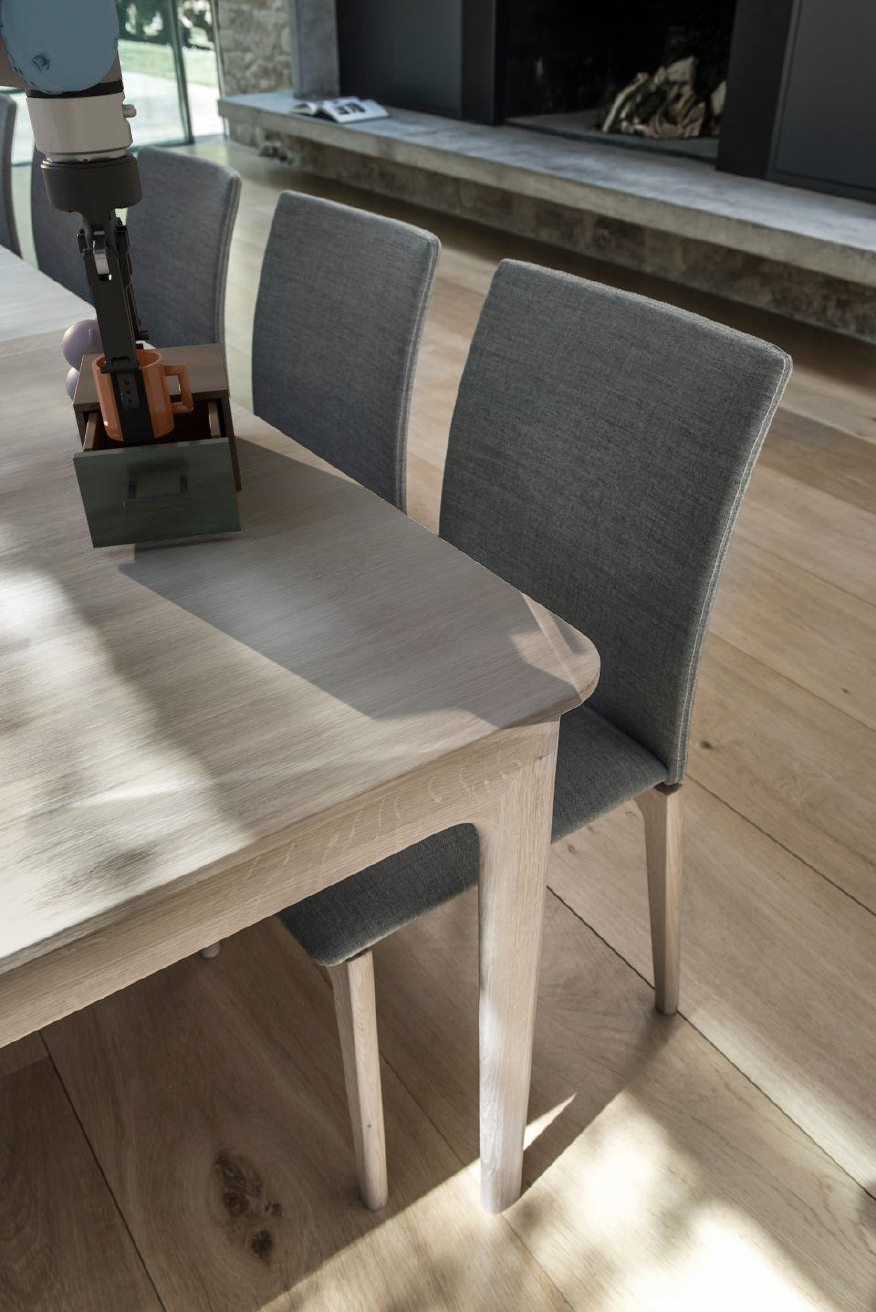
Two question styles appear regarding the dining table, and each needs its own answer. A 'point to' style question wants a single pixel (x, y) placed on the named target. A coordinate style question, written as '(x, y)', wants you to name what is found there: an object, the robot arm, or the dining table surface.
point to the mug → (155, 390)
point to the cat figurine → (80, 349)
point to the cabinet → (172, 388)
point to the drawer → (158, 481)
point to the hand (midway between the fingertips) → (140, 425)
